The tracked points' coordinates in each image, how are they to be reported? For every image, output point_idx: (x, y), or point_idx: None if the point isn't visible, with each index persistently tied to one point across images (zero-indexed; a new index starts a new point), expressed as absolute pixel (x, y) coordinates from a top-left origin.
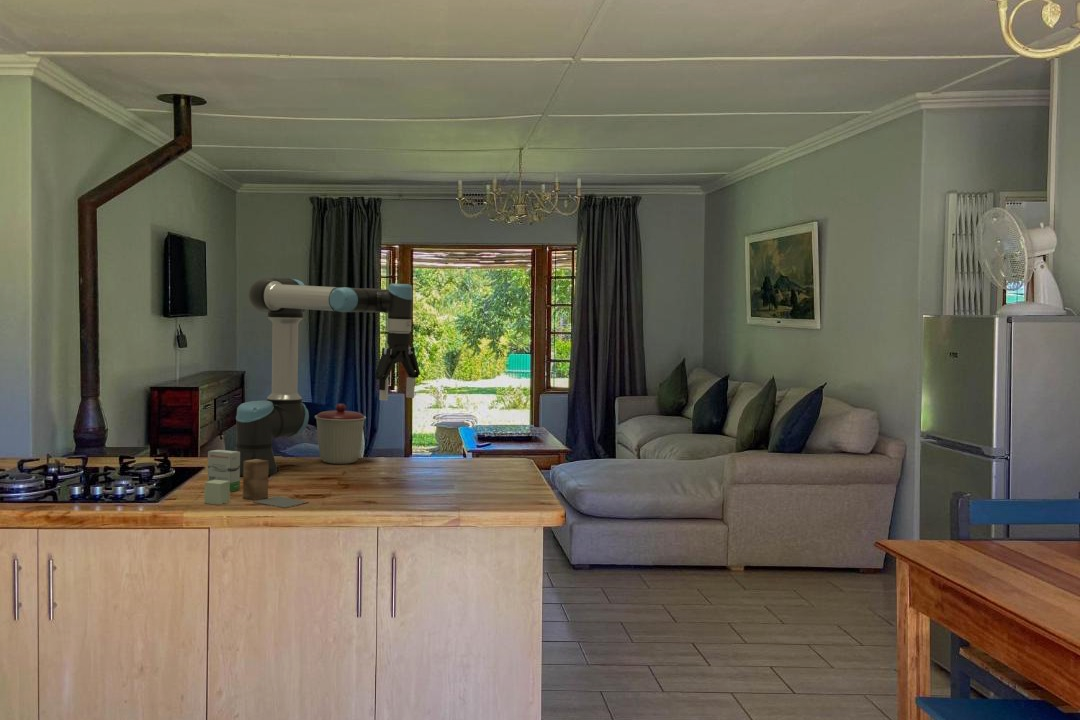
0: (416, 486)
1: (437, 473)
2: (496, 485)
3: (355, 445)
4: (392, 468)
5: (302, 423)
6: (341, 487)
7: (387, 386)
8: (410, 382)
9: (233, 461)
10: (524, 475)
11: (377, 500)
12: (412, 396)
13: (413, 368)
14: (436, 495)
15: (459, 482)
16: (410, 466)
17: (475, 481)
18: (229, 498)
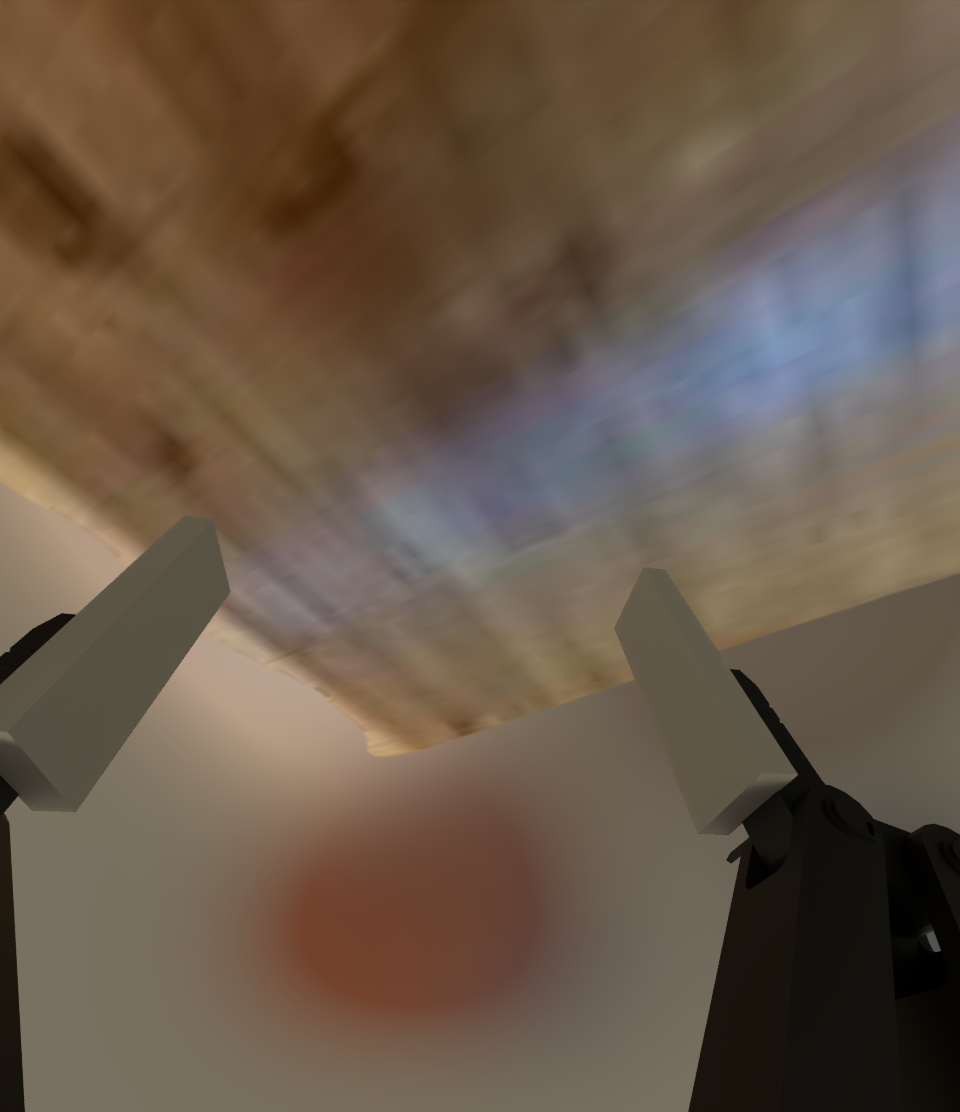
0: (481, 453)
1: (756, 396)
2: (607, 612)
3: None
4: (856, 122)
5: None
6: (273, 193)
7: (125, 717)
8: (688, 743)
9: None
10: (780, 613)
11: (211, 462)
12: (619, 636)
13: (921, 1008)
14: (396, 557)
15: (610, 527)
16: (932, 187)
17: (644, 554)
18: None
